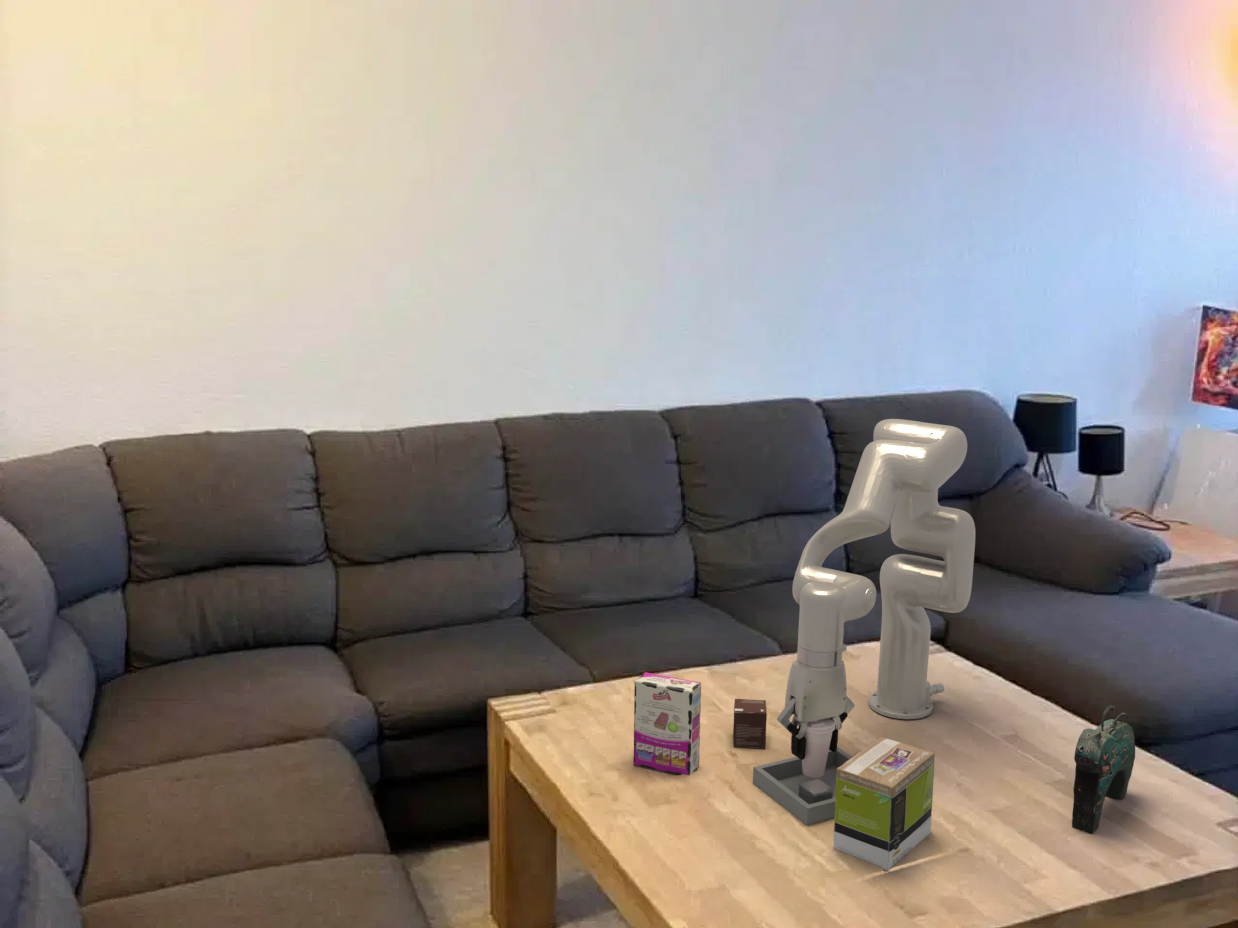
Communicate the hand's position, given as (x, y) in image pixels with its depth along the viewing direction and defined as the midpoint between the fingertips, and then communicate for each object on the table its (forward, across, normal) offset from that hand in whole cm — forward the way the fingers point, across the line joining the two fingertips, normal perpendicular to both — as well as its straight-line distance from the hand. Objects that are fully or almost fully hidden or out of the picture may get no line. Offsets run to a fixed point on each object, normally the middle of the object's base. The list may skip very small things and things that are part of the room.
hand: (814, 751), depth 215 cm
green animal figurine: (+7, -39, +28) cm, 48 cm away
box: (+7, 0, -20) cm, 21 cm away
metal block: (+6, +4, +7) cm, 10 cm away
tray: (+7, 0, +3) cm, 7 cm away
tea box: (+7, +1, +20) cm, 21 cm away
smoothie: (+4, 0, 0) cm, 4 cm away
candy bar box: (+7, +19, -18) cm, 27 cm away
